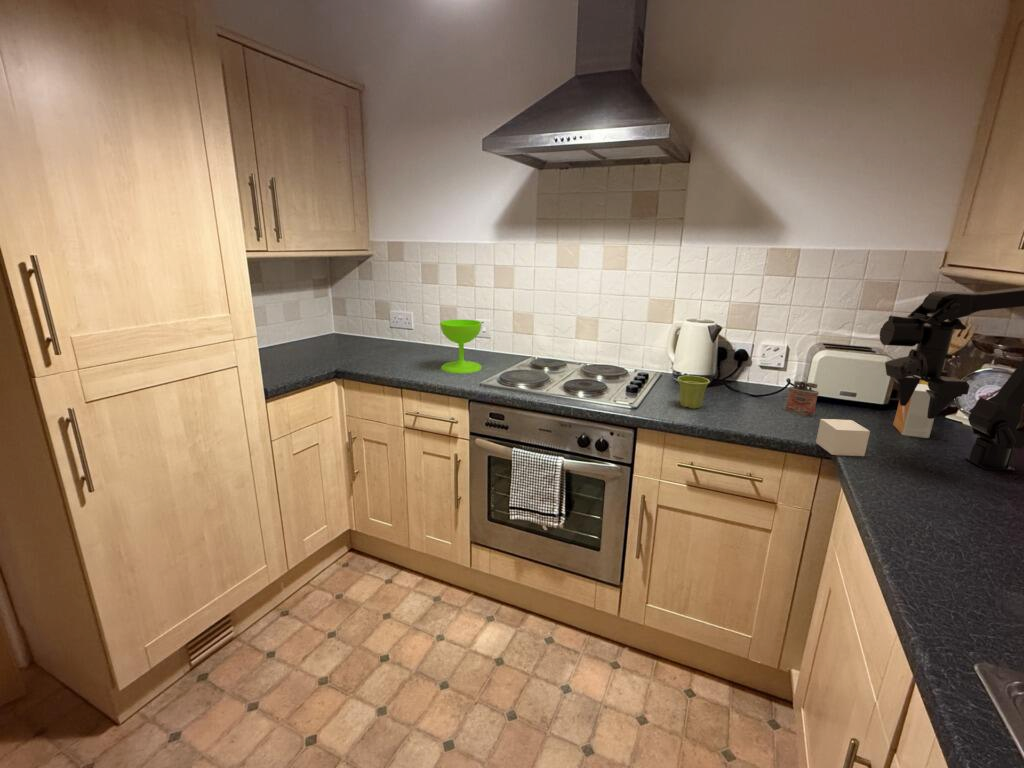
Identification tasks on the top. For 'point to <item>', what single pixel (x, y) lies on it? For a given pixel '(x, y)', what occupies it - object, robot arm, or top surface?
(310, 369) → the top surface
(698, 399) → the plant pot
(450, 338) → the wineglass
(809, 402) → the lighter
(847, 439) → the cream cube
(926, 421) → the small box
